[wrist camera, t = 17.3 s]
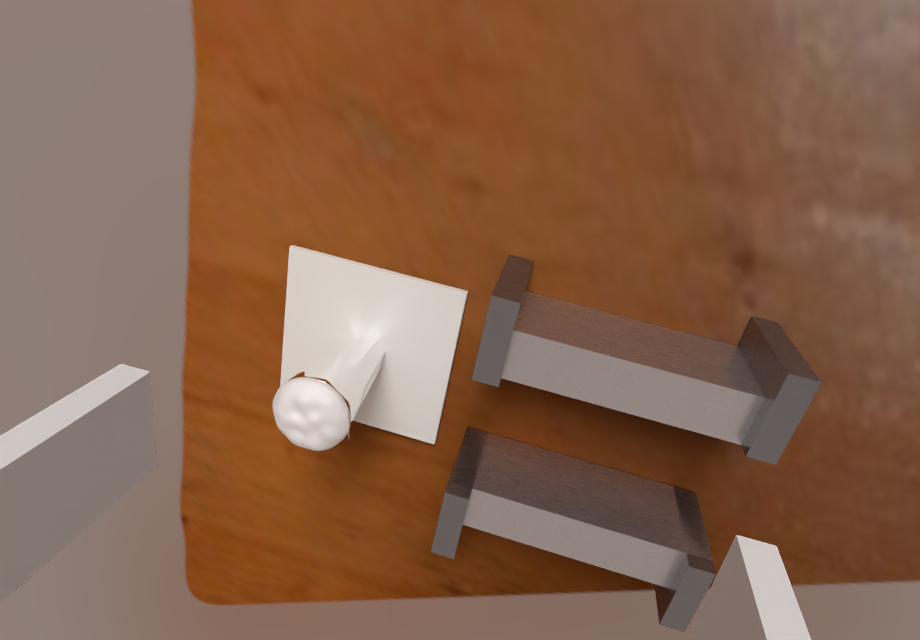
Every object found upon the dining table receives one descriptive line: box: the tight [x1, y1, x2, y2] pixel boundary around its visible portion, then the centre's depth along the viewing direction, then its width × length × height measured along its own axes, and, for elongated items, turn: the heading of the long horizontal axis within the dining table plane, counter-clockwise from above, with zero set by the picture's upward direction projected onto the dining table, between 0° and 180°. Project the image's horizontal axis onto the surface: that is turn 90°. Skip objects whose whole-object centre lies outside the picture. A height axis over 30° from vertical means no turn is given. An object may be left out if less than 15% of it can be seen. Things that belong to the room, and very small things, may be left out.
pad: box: [280, 245, 468, 444], centre depth 39 cm, size 12×12×1 cm
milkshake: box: [273, 331, 385, 451], centre depth 35 cm, size 4×5×10 cm
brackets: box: [431, 255, 821, 632], centre depth 35 cm, size 16×18×7 cm
